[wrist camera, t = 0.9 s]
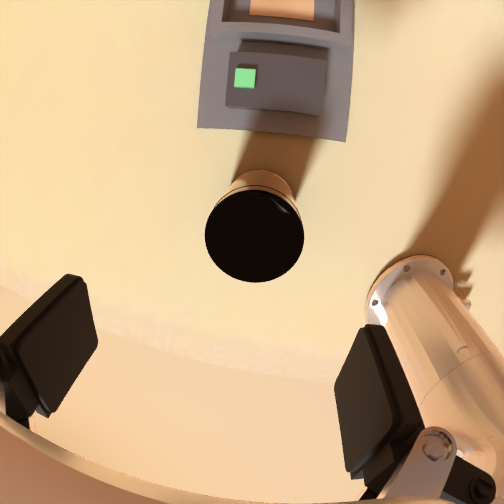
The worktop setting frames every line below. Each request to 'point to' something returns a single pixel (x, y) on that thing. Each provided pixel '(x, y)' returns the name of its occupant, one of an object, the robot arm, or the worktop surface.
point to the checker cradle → (278, 67)
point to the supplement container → (255, 228)
